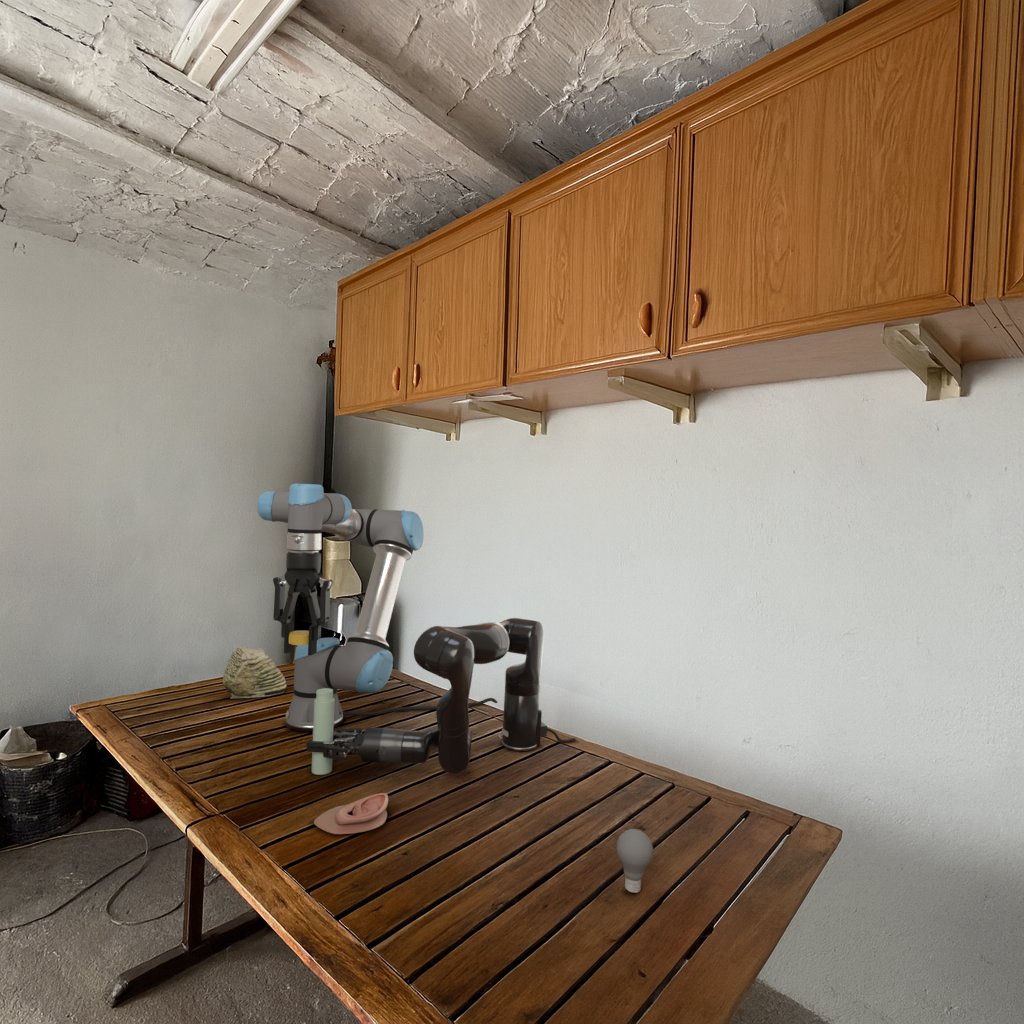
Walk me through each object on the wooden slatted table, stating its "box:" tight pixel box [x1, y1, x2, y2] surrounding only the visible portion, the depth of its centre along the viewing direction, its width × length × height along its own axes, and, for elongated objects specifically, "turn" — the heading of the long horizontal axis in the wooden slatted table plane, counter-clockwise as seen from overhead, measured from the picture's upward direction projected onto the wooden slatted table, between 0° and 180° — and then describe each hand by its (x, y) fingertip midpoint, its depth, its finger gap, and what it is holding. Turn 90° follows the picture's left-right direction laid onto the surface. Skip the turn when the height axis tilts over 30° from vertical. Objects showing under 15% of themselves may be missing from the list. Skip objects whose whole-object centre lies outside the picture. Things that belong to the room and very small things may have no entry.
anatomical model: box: [313, 792, 389, 835], centre depth 124 cm, size 13×4×12 cm
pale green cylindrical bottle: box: [311, 688, 335, 776], centre depth 146 cm, size 4×4×19 cm
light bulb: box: [615, 828, 654, 894], centre depth 106 cm, size 6×6×10 cm
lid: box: [289, 629, 309, 646], centre depth 145 cm, size 5×5×2 cm
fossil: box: [222, 646, 288, 699], centre depth 198 cm, size 9×18×15 cm, turn 132°
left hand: (300, 652), depth 145 cm, fingers closed on lid, 5 cm apart
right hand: (311, 741), depth 146 cm, fingers closed on pale green cylindrical bottle, 4 cm apart
